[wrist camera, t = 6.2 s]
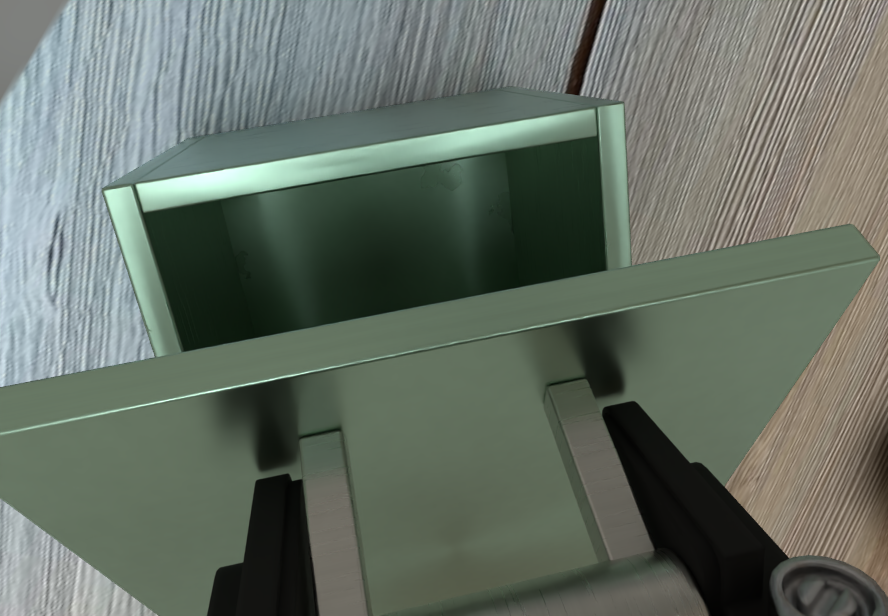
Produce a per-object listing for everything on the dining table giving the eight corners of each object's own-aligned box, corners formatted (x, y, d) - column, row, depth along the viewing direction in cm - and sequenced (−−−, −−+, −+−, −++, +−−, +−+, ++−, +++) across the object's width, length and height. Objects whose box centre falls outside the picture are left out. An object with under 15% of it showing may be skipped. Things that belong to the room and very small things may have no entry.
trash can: (186, 138, 28) (99, 188, 17) (511, 86, 29) (625, 101, 18) (274, 463, 33) (251, 660, 22) (544, 406, 35) (646, 565, 24)
